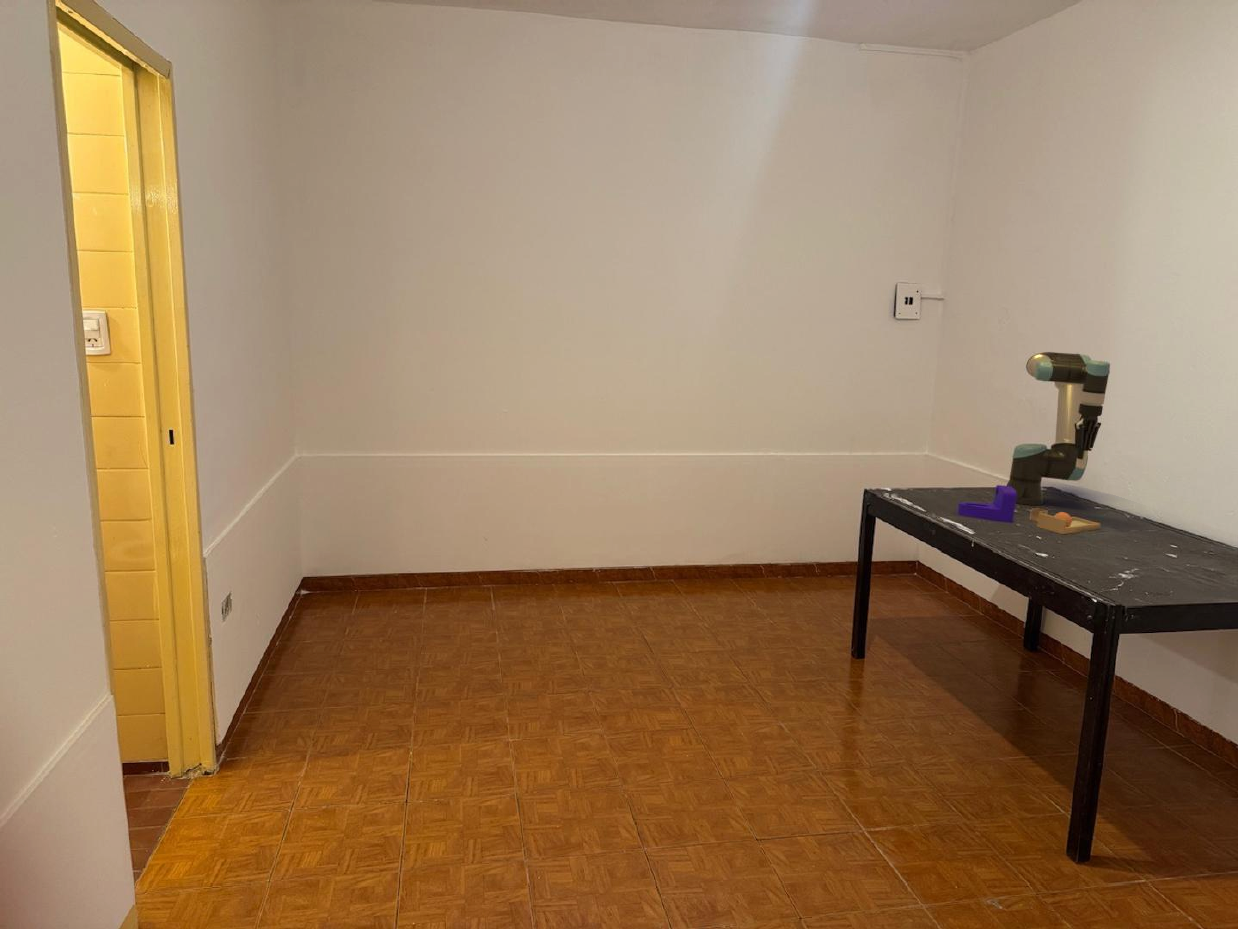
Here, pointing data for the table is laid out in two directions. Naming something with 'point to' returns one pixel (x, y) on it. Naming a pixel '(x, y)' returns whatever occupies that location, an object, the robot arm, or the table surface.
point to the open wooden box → (1036, 513)
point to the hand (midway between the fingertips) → (1080, 467)
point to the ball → (1064, 516)
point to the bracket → (992, 506)
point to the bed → (1060, 524)
